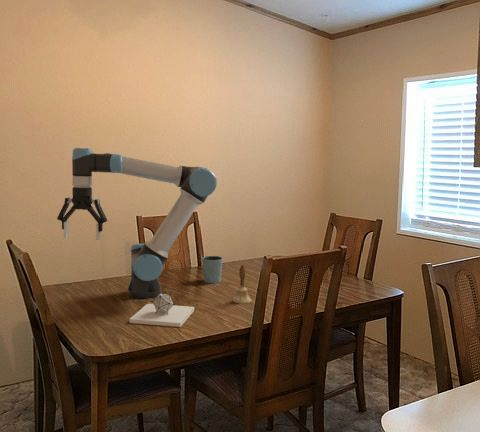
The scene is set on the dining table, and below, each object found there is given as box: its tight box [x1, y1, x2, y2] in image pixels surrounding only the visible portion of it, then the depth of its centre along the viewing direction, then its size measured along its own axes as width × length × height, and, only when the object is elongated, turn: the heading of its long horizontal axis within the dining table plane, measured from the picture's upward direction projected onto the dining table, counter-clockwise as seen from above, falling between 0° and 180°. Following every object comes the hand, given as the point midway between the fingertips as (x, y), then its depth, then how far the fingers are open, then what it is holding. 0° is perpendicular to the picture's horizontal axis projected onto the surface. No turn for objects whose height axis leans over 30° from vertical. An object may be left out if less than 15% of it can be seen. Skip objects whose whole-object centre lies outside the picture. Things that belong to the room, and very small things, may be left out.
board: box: [128, 303, 195, 328], centre depth 200 cm, size 20×20×2 cm
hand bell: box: [232, 264, 252, 305], centre depth 222 cm, size 8×8×16 cm
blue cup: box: [201, 255, 224, 284], centre depth 254 cm, size 10×10×12 cm
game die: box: [150, 292, 176, 315], centre depth 200 cm, size 9×8×10 cm
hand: (82, 238), depth 208 cm, fingers open, 13 cm apart
